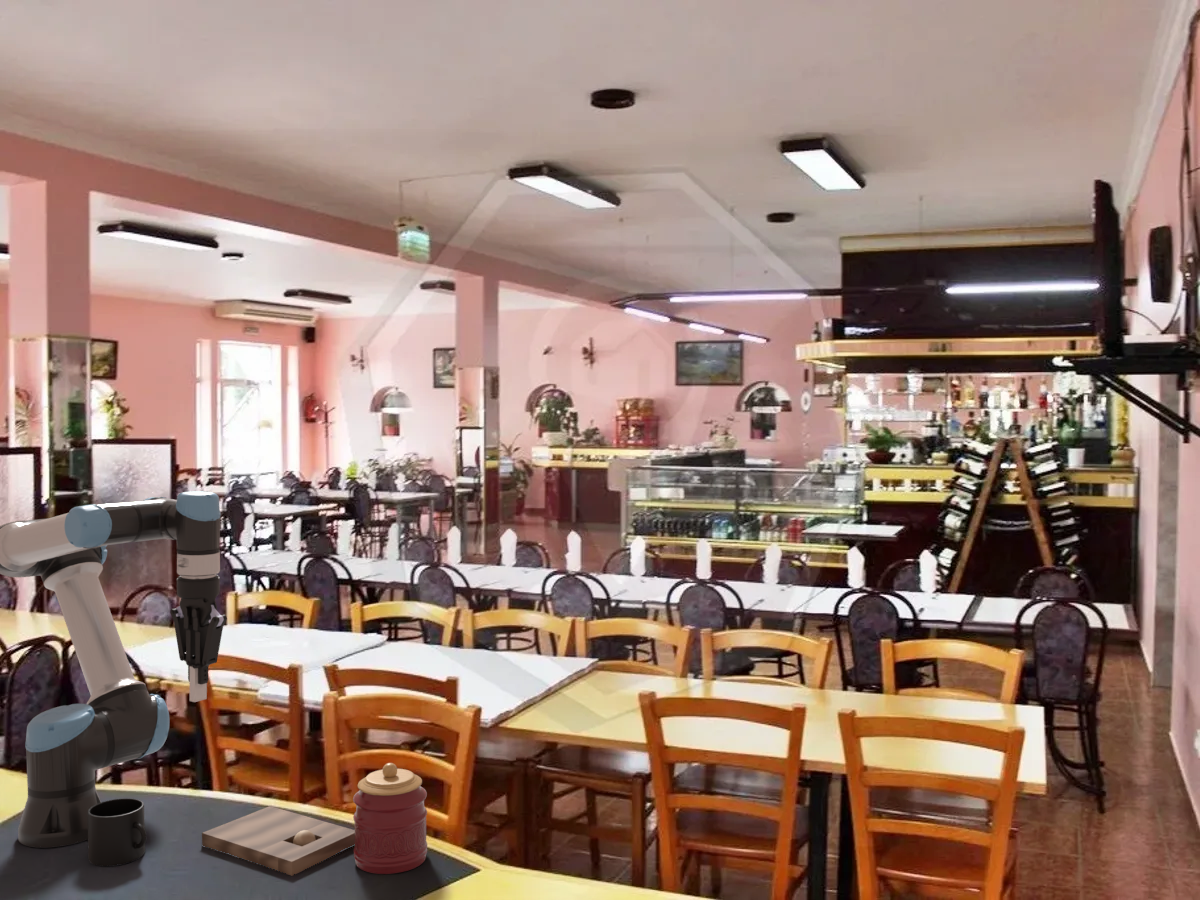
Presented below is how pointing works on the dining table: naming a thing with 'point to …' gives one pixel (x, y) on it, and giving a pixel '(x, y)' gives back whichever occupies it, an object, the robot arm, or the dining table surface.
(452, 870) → the dining table surface
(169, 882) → the dining table surface
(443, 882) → the dining table surface
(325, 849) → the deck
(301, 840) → the ball
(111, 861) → the mug
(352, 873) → the dining table surface
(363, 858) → the canister
